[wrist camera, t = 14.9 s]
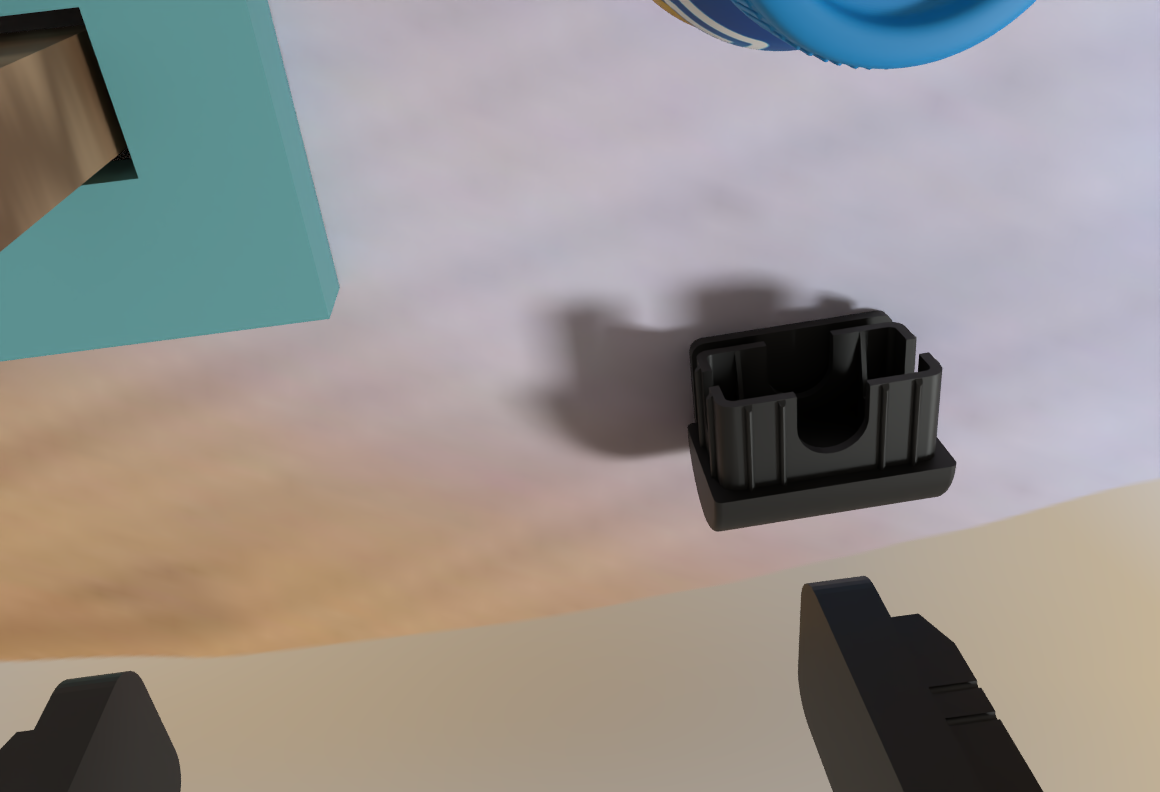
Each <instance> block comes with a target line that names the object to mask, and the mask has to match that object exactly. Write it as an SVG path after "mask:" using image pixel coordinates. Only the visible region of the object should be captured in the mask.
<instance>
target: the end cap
mask: <svg viewBox="0 0 1160 792" xmlns="http://www.w3.org/2000/svg"><path fill="white" fill-rule="evenodd" d="M689 353H690V366H691V380H692V393H693V407H694V418H695V423H692V424H689V425H688V427H687V428H688V439H689V447H690V454H691V460H692V466H693V472H694V477H695V482H696V486H697V491H698V495H699V499H700V502H701V506H702V509H703V512H704V515H705V518H706V520H707V522H708V524H709V526H710V527H711V528H712V529H713V530H714V531H725V530H731V529H738V528H744V527H750V526H756V525H763V524H769V523H775V522H781V521H788V520H794V519H800V518H806V517H813V516H819V515H825V514H831V513H838V512H844V511H850V510H856V509H863V508H869V507H875V506H881V505H888V504H894V503H900V502H906V501H913V500H919V499H925V498H931V497H938V496H941V495H942V494H943V493H945V492H946V491H947V490H948V488H949V487H950V485H951V483H952V480H953V478H954V474H955V468H956V461H955V460H954V458H953V457H952V456H951V455H950V453H949V452H948V451H947V450H946V448H945V447H944V446H943V445H942V443H941V442H940V441H939V439H938V438H937V425H938V413H939V402H940V390H941V378H942V367H941V365H940V363H939V362H938V361H937V360H936V359H935V358H934V357H933V356H932V355H931V354H930V353H923V354H919V364H918V372H915V373H914V368H915V353H916V337H915V336H914V335H913V334H912V333H911V332H910V331H909V330H908V329H907V328H906V327H905V326H904V325H902V324H900V323H896V322H892V320H891V319H890V318H889V316H888V315H887V314H885V313H884V312H883V311H872V312H866V313H860V314H853V315H847V316H840V317H834V318H828V319H821V320H815V321H808V322H802V323H795V324H789V325H783V326H776V327H770V328H763V329H757V330H751V331H744V332H738V333H731V334H725V335H719V336H712V337H706V338H701V339H698V340H696V341H694V343H693V344H692V345H691V347H690V352H689Z"/></svg>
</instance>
